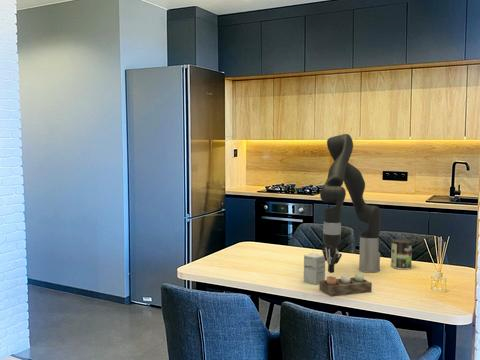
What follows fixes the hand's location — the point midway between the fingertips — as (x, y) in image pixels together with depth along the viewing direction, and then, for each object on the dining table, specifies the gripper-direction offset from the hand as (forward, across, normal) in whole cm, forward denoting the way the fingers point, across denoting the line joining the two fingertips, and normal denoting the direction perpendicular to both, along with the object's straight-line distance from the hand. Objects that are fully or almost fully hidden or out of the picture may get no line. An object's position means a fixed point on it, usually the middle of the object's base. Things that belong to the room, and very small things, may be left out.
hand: (331, 272), depth 206 cm
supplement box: (+9, +17, -1) cm, 19 cm away
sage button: (+5, 0, -14) cm, 15 cm away
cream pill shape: (+5, 0, -7) cm, 9 cm away
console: (+9, 0, -7) cm, 11 cm away
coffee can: (+9, +26, -57) cm, 63 cm away
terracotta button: (+6, 0, 0) cm, 6 cm away
